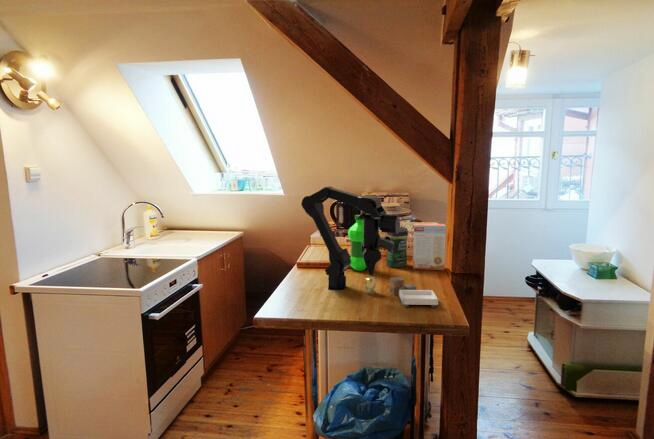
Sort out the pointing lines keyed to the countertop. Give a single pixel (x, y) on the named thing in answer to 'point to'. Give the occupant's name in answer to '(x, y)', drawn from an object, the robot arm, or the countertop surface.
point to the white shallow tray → (418, 297)
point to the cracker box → (429, 246)
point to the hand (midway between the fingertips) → (370, 271)
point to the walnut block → (396, 285)
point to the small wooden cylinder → (370, 285)
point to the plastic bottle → (357, 244)
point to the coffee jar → (398, 249)
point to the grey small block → (409, 287)
